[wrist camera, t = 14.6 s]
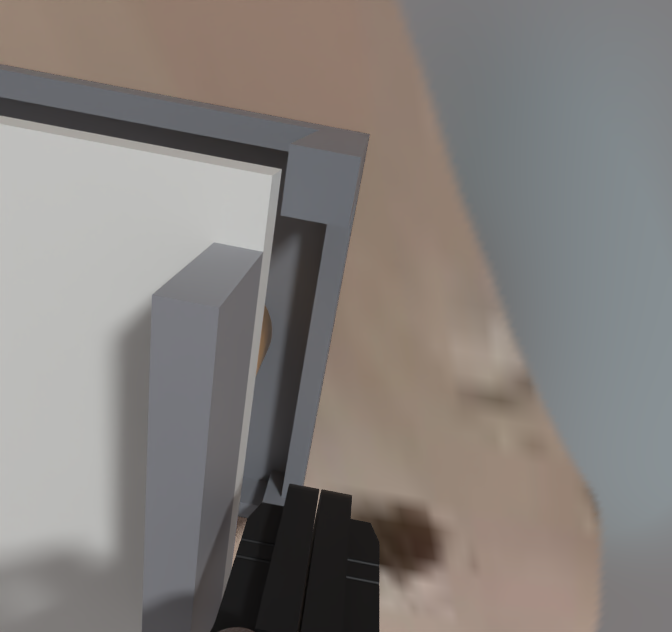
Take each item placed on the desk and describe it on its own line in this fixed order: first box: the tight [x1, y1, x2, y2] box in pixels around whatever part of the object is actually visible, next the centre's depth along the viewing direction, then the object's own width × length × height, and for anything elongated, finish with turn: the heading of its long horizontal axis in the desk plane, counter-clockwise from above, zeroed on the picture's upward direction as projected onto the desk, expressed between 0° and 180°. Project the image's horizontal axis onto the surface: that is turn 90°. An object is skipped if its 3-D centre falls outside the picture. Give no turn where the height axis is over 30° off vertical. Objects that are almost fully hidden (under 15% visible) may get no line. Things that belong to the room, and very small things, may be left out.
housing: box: [0, 64, 370, 518], centre depth 17 cm, size 18×16×8 cm
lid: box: [0, 116, 282, 632], centre depth 12 cm, size 7×15×4 cm, turn 170°
